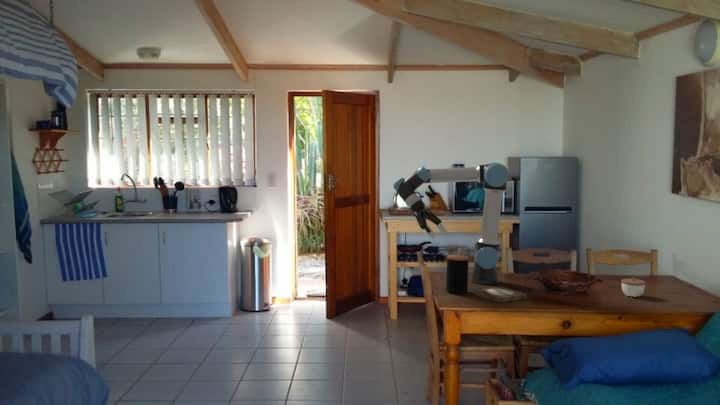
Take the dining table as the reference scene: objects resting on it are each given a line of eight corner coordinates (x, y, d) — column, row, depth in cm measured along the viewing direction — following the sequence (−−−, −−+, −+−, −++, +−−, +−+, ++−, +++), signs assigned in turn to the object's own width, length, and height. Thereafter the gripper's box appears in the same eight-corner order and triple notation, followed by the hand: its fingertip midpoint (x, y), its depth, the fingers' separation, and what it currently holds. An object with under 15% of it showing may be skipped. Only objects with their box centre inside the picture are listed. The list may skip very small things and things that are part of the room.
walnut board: (501, 290, 301) (501, 286, 301) (526, 298, 285) (526, 294, 285) (473, 294, 292) (473, 289, 292) (498, 302, 276) (498, 298, 276)
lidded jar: (621, 297, 290) (622, 278, 289) (619, 292, 300) (621, 274, 299) (645, 299, 286) (646, 280, 285) (643, 294, 296) (644, 276, 295)
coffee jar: (469, 290, 299) (470, 255, 298) (465, 295, 289) (466, 259, 288) (448, 288, 303) (449, 254, 301) (444, 293, 293) (445, 257, 291)
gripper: (422, 206, 318) (446, 237, 311) (398, 210, 297) (424, 243, 290) (431, 197, 314) (455, 228, 307) (408, 200, 294) (434, 233, 287)
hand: (440, 235), depth 299 cm, fingers open, 13 cm apart
